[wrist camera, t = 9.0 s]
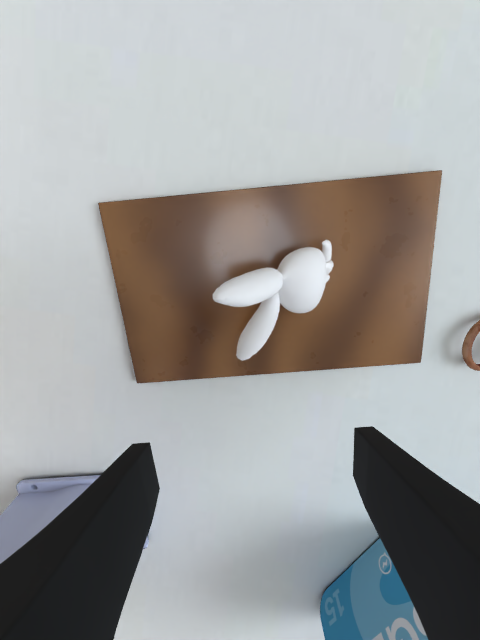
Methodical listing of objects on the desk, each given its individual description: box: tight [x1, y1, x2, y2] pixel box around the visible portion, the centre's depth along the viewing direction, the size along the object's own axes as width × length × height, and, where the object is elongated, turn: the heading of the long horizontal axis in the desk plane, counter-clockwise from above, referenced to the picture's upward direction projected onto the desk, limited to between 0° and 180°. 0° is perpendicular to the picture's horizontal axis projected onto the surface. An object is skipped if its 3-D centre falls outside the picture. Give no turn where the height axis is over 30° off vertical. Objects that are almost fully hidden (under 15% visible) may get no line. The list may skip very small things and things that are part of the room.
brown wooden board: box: [98, 170, 442, 383], centre depth 17 cm, size 20×12×1 cm, turn 95°
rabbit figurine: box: [213, 240, 333, 361], centre depth 15 cm, size 6×4×8 cm
